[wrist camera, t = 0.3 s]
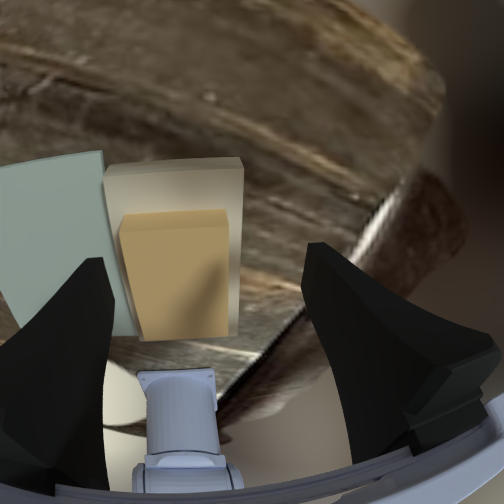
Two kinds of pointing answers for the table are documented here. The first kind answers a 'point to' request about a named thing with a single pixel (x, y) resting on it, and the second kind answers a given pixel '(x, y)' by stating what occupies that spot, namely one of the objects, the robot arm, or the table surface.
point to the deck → (179, 206)
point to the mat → (55, 232)
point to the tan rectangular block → (178, 272)
